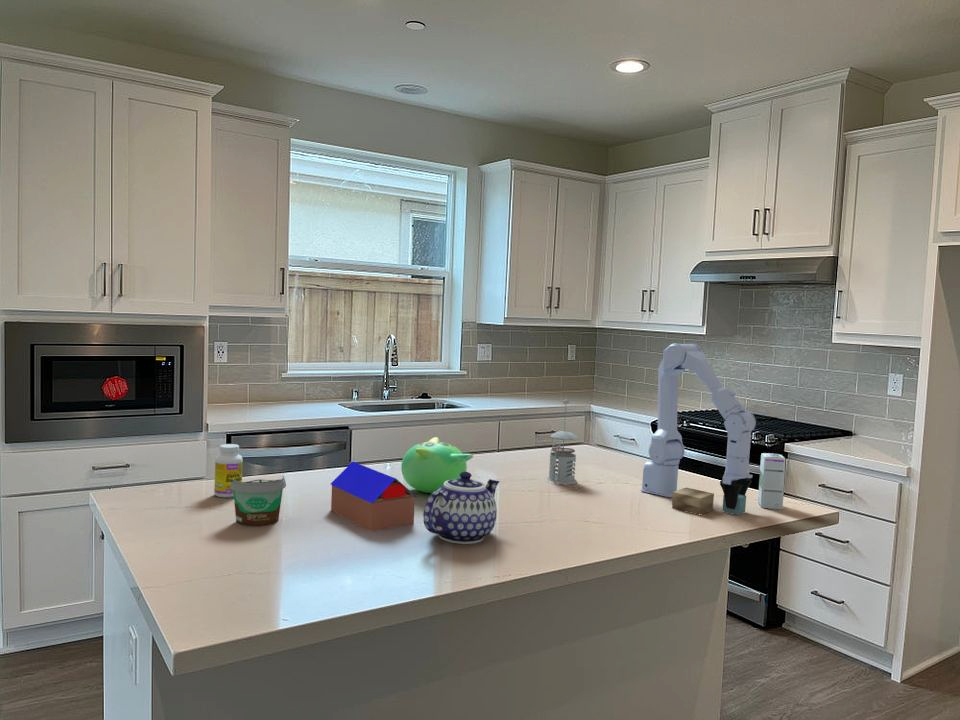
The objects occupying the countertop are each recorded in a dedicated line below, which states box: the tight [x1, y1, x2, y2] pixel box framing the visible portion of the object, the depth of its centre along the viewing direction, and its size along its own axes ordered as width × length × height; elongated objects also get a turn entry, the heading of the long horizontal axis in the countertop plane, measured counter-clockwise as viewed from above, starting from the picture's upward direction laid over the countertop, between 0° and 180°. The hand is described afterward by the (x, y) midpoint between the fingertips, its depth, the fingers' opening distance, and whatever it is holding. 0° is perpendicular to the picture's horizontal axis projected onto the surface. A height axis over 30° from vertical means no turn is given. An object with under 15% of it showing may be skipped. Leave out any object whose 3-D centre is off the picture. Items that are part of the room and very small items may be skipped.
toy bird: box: [400, 436, 474, 494], centre depth 199 cm, size 18×17×15 cm
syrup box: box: [757, 452, 786, 511], centre depth 201 cm, size 6×6×14 cm
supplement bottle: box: [213, 443, 244, 499], centre depth 186 cm, size 7×7×13 cm
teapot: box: [423, 471, 500, 545], centre depth 161 cm, size 25×15×15 cm, turn 139°
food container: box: [230, 475, 287, 528], centre depth 163 cm, size 12×6×10 cm, turn 117°
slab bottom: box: [671, 500, 714, 516], centre depth 195 cm, size 8×8×2 cm
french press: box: [546, 399, 578, 485], centre depth 219 cm, size 10×12×25 cm
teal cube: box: [721, 494, 747, 516], centre depth 194 cm, size 4×4×4 cm
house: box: [330, 461, 416, 532], centre depth 173 cm, size 12×20×12 cm, turn 39°
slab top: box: [671, 487, 715, 508], centre depth 195 cm, size 8×8×2 cm
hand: (734, 506), depth 194 cm, fingers closed on teal cube, 4 cm apart
